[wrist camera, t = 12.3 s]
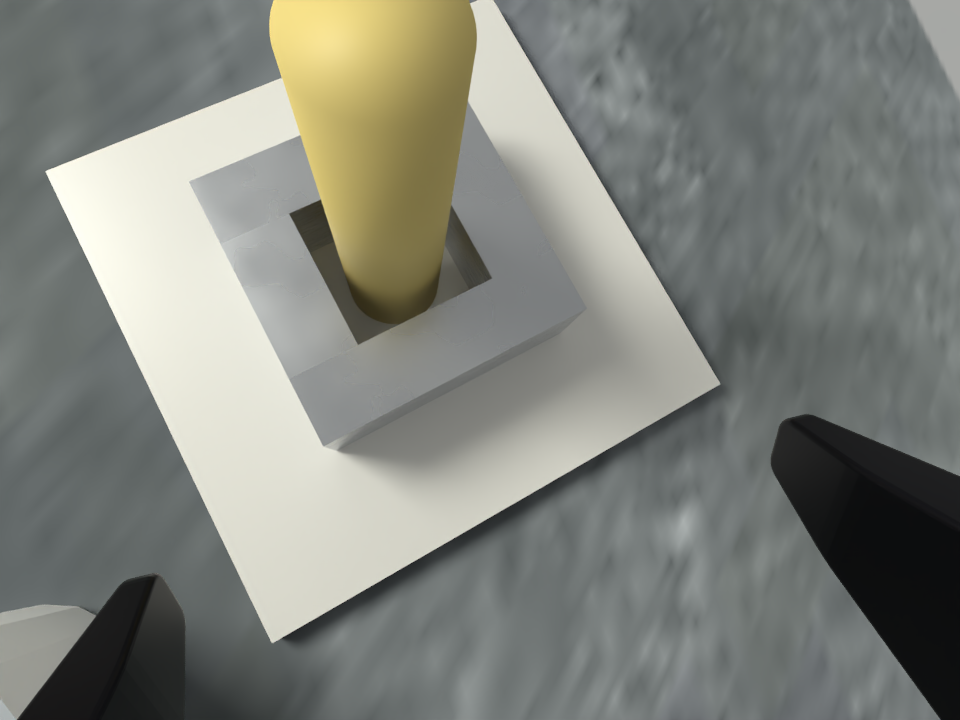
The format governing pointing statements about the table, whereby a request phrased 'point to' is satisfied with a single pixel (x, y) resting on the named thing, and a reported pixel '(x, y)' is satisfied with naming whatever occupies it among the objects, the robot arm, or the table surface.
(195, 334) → the base plate
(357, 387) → the metal collar
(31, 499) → the table surface
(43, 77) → the table surface
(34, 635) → the white short cylinder
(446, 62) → the pin
